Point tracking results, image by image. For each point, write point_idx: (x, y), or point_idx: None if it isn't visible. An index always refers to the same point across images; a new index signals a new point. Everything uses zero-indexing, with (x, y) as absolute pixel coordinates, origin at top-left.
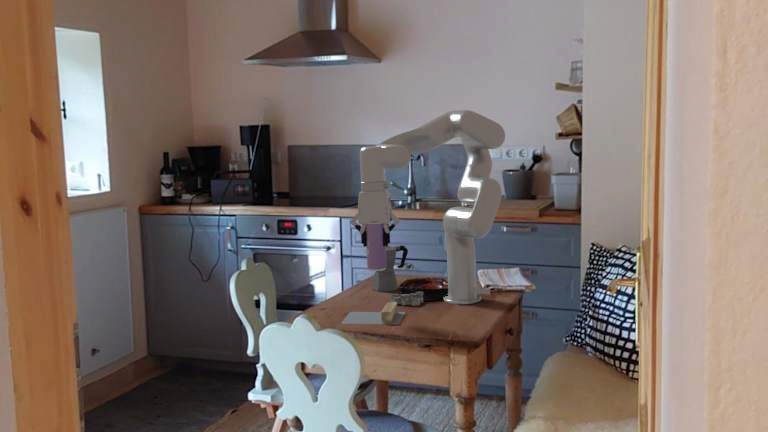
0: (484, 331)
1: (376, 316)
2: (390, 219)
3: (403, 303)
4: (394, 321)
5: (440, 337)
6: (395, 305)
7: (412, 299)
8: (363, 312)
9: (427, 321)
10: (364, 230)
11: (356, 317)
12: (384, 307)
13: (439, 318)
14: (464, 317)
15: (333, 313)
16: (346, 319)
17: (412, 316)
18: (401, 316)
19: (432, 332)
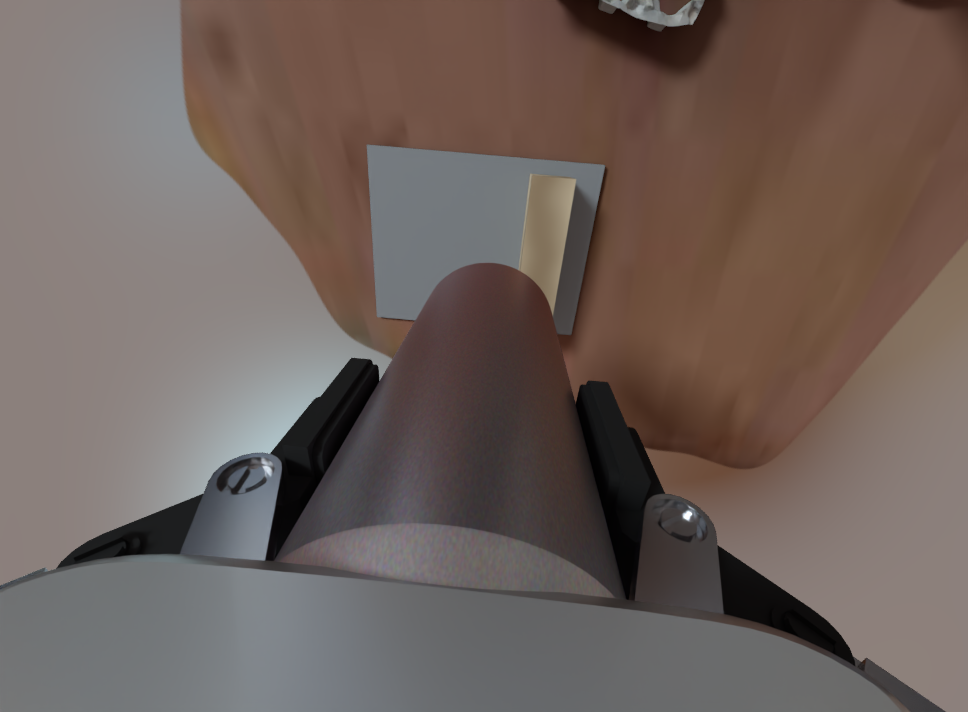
0: (822, 406)
1: (487, 230)
2: (893, 703)
3: (608, 6)
4: (556, 301)
5: (677, 443)
6: (567, 225)
7: (664, 14)
8: (425, 160)
9: (673, 290)
10: (286, 537)
11: (412, 239)
12: (522, 272)
13: (727, 253)
14: (829, 245)
15: (299, 145)
16: (382, 264)
17: (627, 216)
18: (584, 235)
19: (664, 403)
